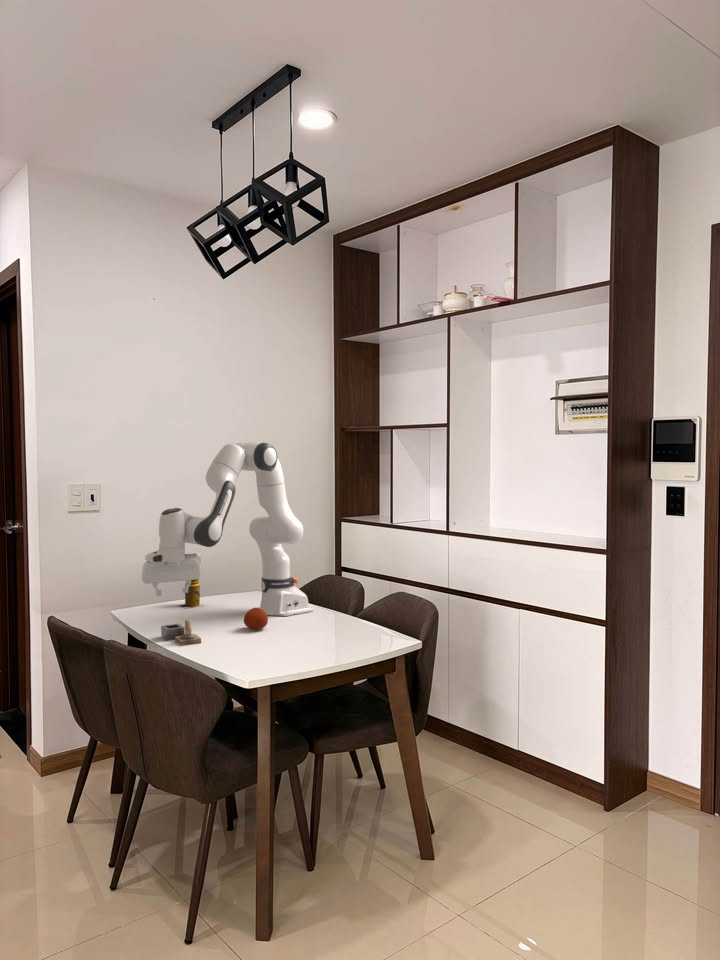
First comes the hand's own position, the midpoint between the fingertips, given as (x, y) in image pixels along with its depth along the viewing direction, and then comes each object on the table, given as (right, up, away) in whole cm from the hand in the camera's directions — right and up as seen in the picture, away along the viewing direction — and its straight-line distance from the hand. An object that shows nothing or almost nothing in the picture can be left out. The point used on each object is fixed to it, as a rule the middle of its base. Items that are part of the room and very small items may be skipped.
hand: (172, 594), depth 259 cm
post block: (+7, -16, -5) cm, 18 cm away
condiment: (-5, -13, +52) cm, 54 cm away
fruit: (+28, -15, +13) cm, 34 cm away
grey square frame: (0, -16, +1) cm, 16 cm away
